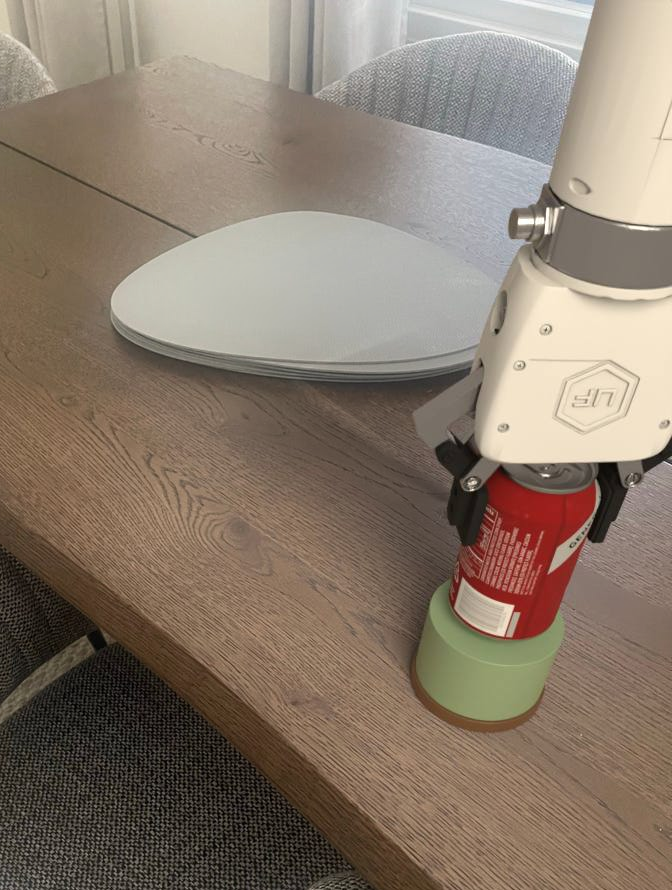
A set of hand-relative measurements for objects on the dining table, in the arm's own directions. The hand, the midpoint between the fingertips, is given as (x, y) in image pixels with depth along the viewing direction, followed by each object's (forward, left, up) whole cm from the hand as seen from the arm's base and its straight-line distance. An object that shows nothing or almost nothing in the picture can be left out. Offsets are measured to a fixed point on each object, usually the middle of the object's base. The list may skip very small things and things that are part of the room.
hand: (526, 527), depth 57 cm
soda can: (0, 0, -7) cm, 7 cm away
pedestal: (0, 0, -14) cm, 14 cm away
